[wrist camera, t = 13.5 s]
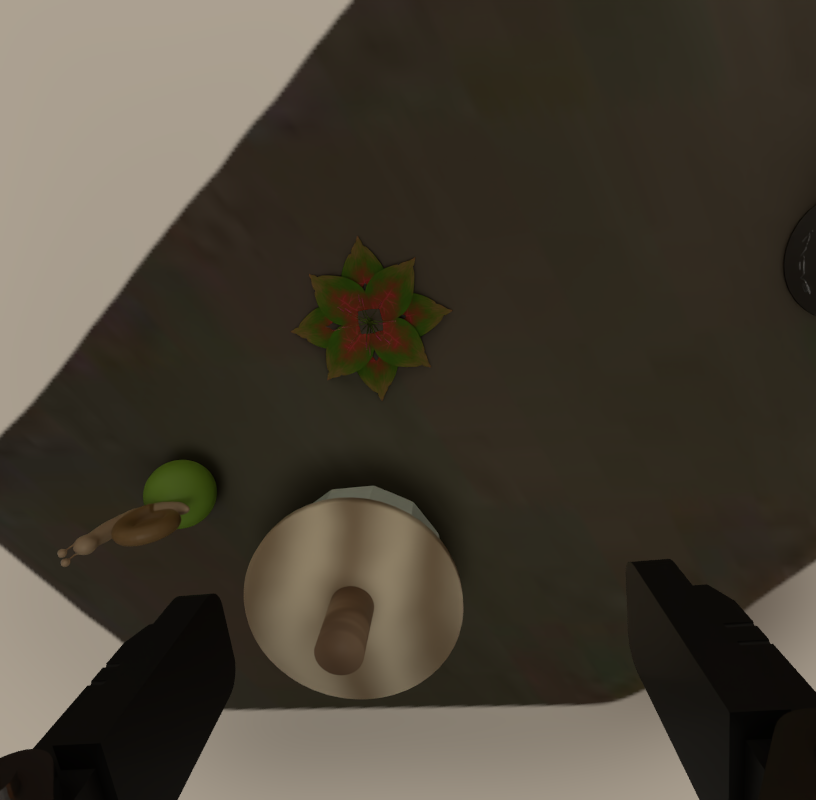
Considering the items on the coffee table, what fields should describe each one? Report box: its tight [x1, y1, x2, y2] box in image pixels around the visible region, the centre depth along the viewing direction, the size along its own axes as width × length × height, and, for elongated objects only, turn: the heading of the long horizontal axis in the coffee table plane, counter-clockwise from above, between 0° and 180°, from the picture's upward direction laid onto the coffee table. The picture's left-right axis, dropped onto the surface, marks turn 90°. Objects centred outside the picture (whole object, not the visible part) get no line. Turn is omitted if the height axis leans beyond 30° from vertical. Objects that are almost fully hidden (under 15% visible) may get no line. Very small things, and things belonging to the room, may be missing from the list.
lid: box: [244, 497, 463, 699], centre depth 37 cm, size 16×16×6 cm
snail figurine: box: [58, 460, 217, 567], centre depth 40 cm, size 5×6×12 cm
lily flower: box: [291, 236, 453, 401], centre depth 39 cm, size 12×12×5 cm
